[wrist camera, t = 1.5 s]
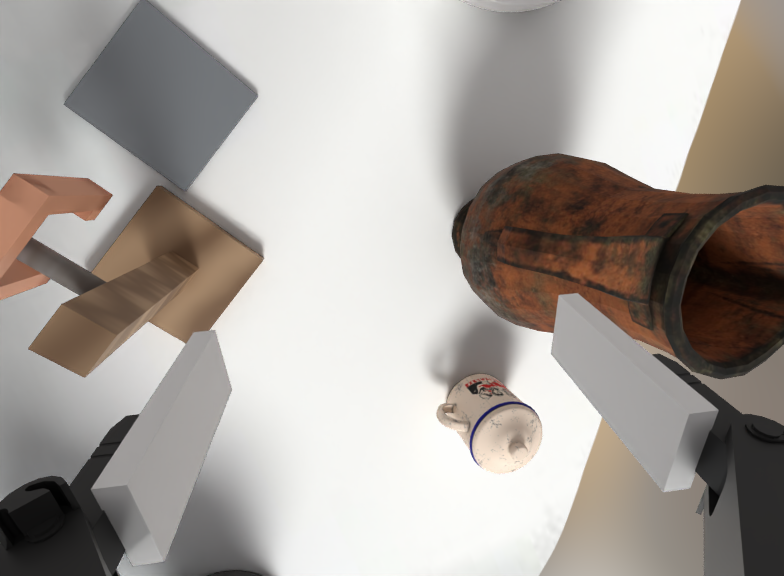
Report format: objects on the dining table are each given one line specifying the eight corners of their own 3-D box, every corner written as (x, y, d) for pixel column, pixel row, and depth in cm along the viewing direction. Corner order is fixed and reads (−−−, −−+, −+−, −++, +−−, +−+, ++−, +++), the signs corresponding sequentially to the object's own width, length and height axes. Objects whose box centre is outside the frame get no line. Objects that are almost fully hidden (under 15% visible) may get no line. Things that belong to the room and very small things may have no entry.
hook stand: (263, 258, 44) (238, 316, 23) (197, 343, 45) (115, 475, 24) (118, 155, 39) (-83, 112, 18) (44, 253, 39) (-235, 321, 18)
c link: (46, 283, 33) (-40, 315, 24) (20, 268, 32) (-78, 295, 24) (113, 195, 32) (49, 196, 24) (88, 178, 32) (13, 173, 23)
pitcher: (537, 305, 54) (811, 430, 25) (383, 286, 48) (514, 421, 20) (568, 178, 51) (920, 160, 22) (407, 142, 45) (604, 58, 17)
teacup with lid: (513, 375, 55) (568, 421, 44) (494, 435, 57) (542, 493, 46) (434, 363, 52) (472, 408, 41) (415, 426, 54) (447, 486, 43)
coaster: (186, 191, 41) (184, 191, 40) (66, 105, 37) (63, 104, 37) (257, 96, 41) (257, 95, 40) (145, 0, 37) (142, -3, 36)
